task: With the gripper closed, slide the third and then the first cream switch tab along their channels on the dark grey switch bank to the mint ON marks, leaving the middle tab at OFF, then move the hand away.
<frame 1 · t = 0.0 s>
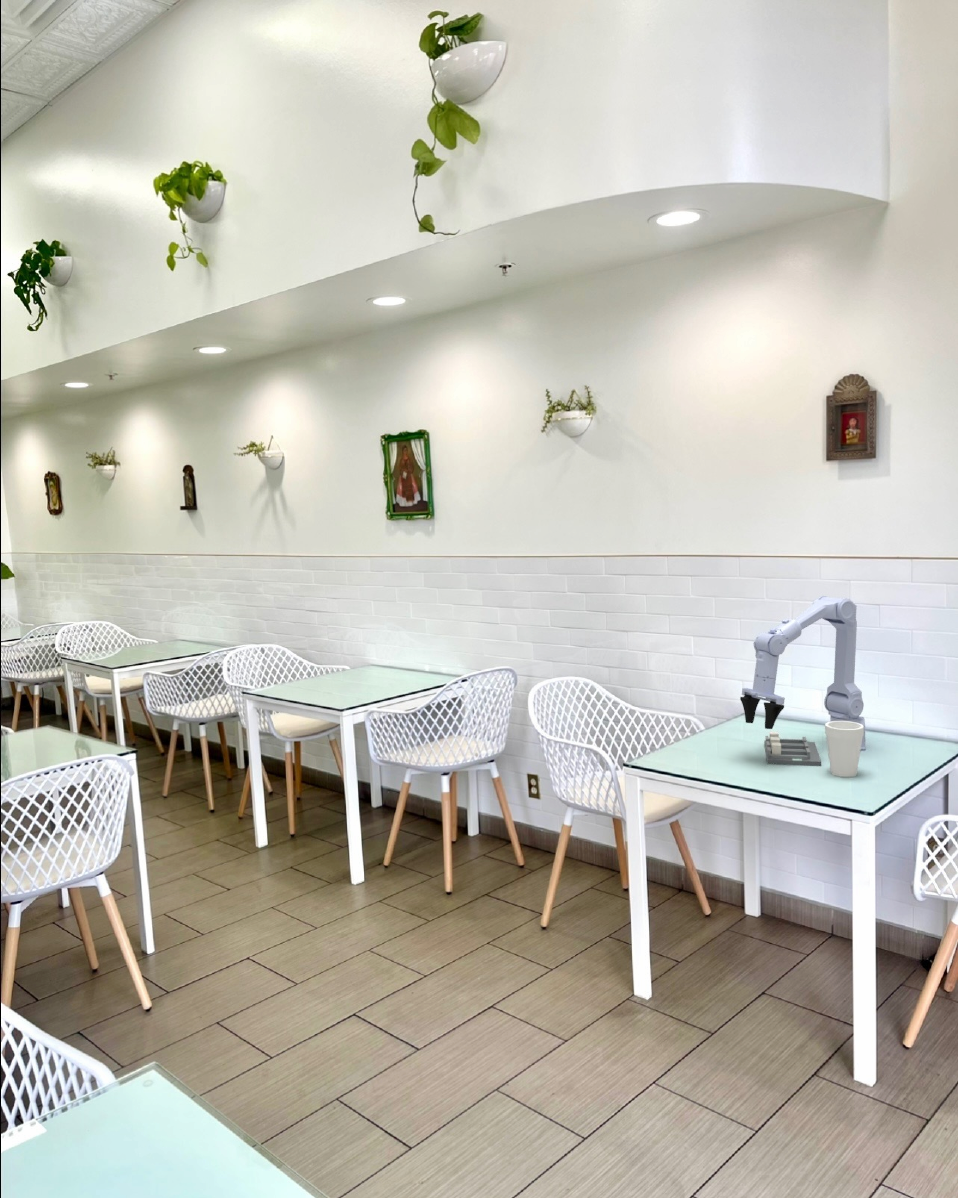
hand: (758, 725, 260), 11 cm above the table, tool pointing down, fingers open, 7 cm apart
foam cup: (843, 774, 249), on the table
switch bank: (791, 754, 267), on the table
tab 3: (776, 749, 262), point 3 cm above the table, slide at 0.0 cm
tab 1: (774, 738, 274), point 3 cm above the table, slide at 0.0 cm
tab 2: (775, 744, 268), point 3 cm above the table, slide at 0.0 cm
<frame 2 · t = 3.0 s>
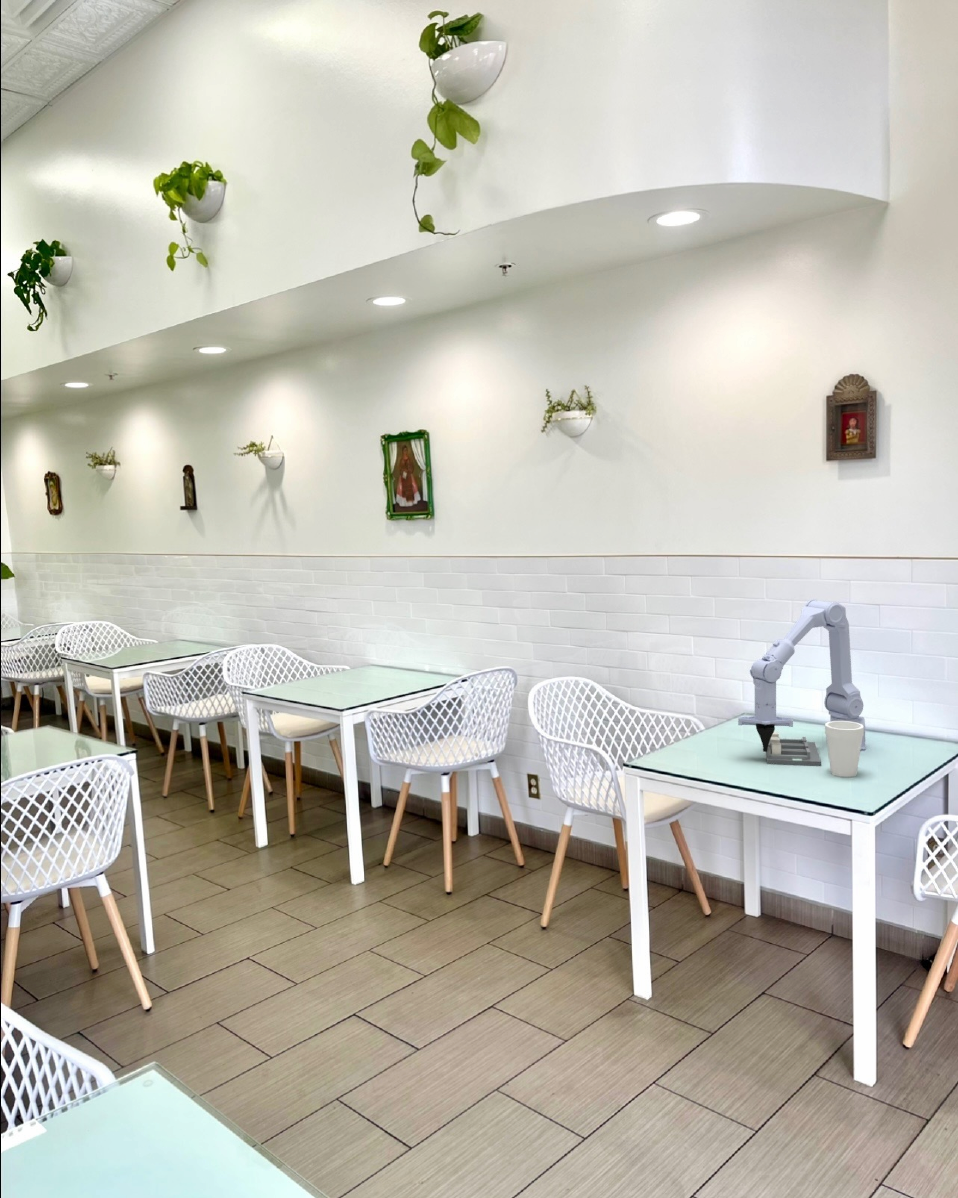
hand: (765, 750, 263), 3 cm above the table, tool pointing down, fingers closed, pressing on switch bank
nothing on the table moved.
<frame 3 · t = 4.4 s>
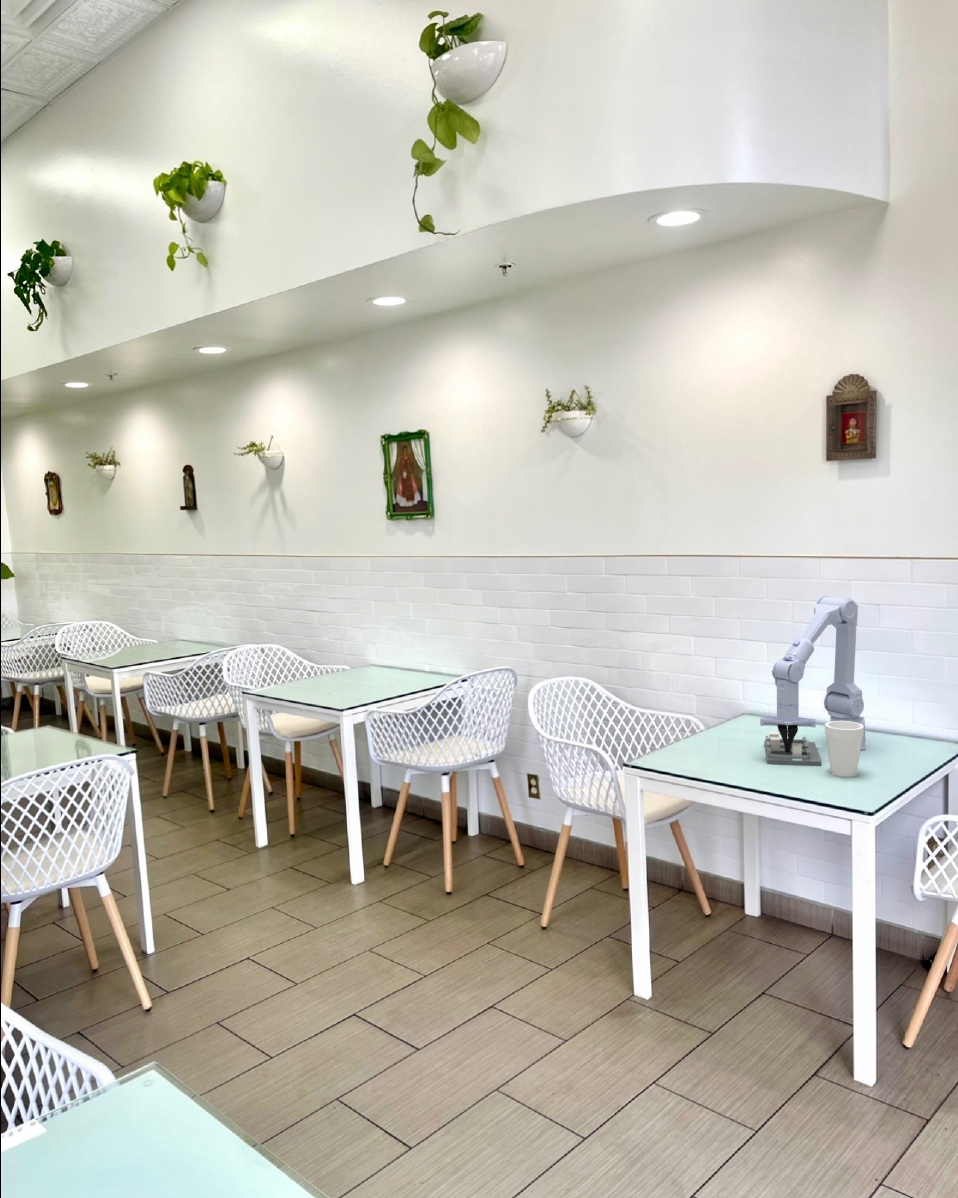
hand: (787, 751, 262), 3 cm above the table, tool pointing down, fingers closed
tab 3: (796, 750, 261), point 3 cm above the table, slide at 5.4 cm, touching gripper
everything else where it was.
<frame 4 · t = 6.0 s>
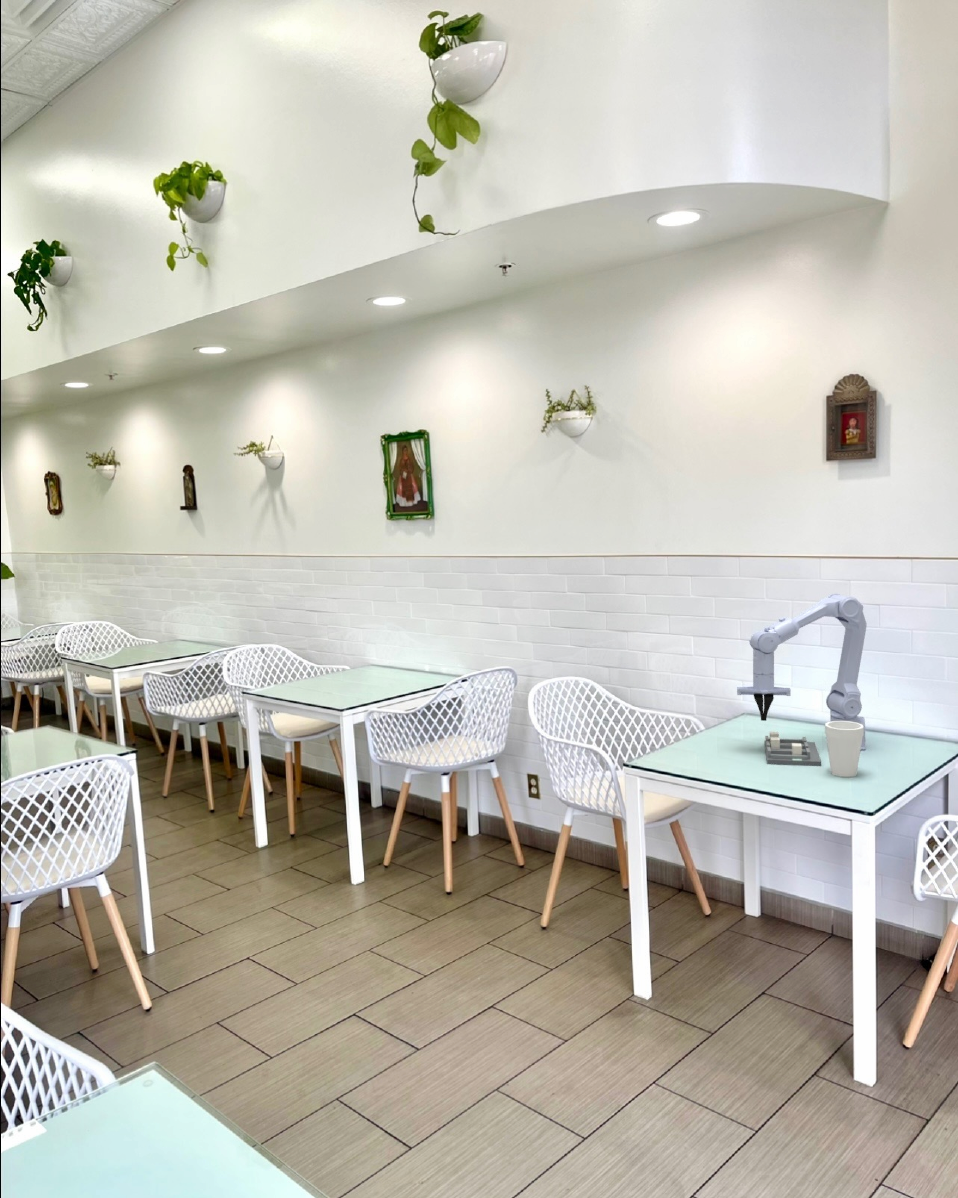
hand: (763, 719, 270), 9 cm above the table, tool pointing down, fingers closed
tab 3: (796, 750, 261), point 3 cm above the table, slide at 5.4 cm
everything else where it was.
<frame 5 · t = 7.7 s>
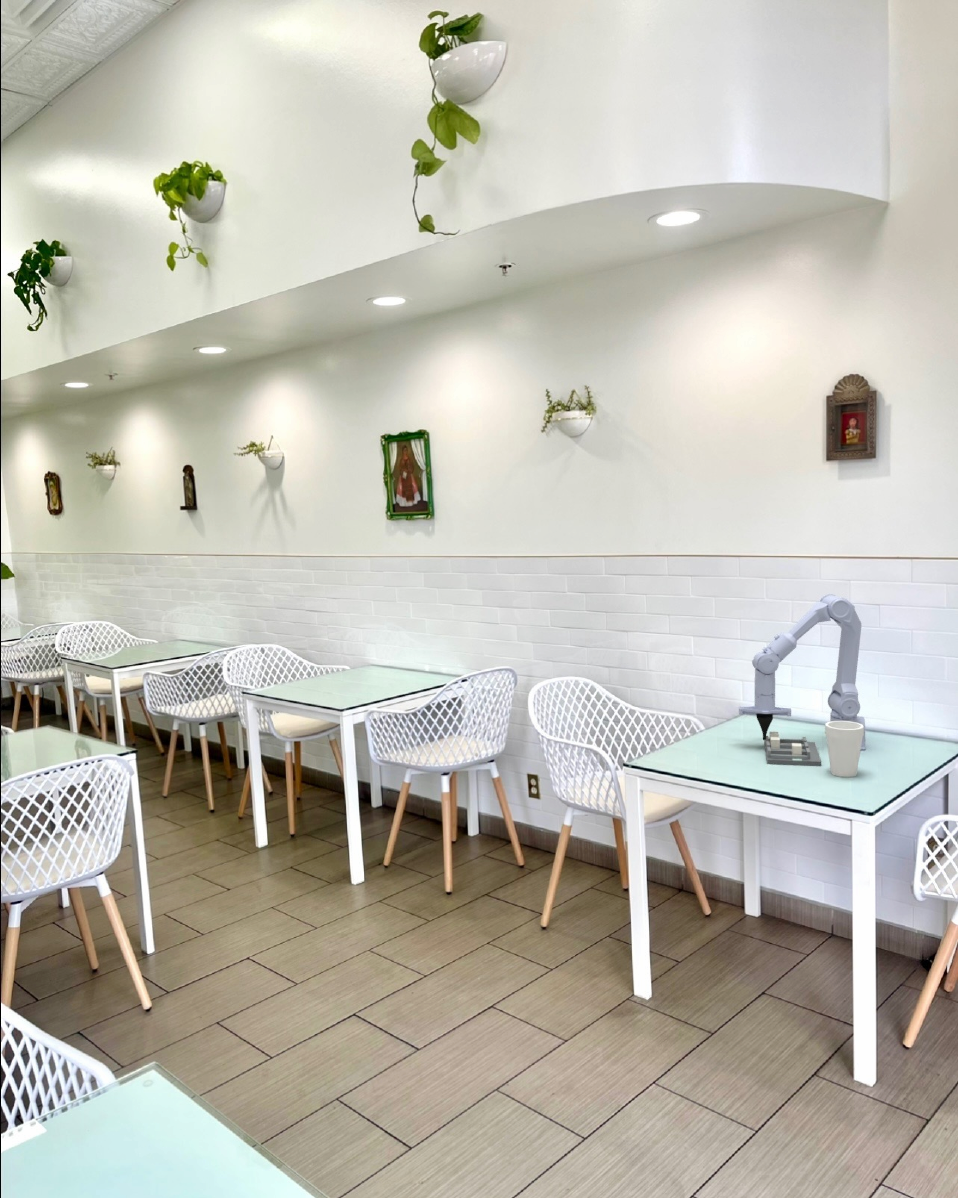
hand: (764, 739, 275), 3 cm above the table, tool pointing down, fingers closed, pressing on switch bank
nothing on the table moved.
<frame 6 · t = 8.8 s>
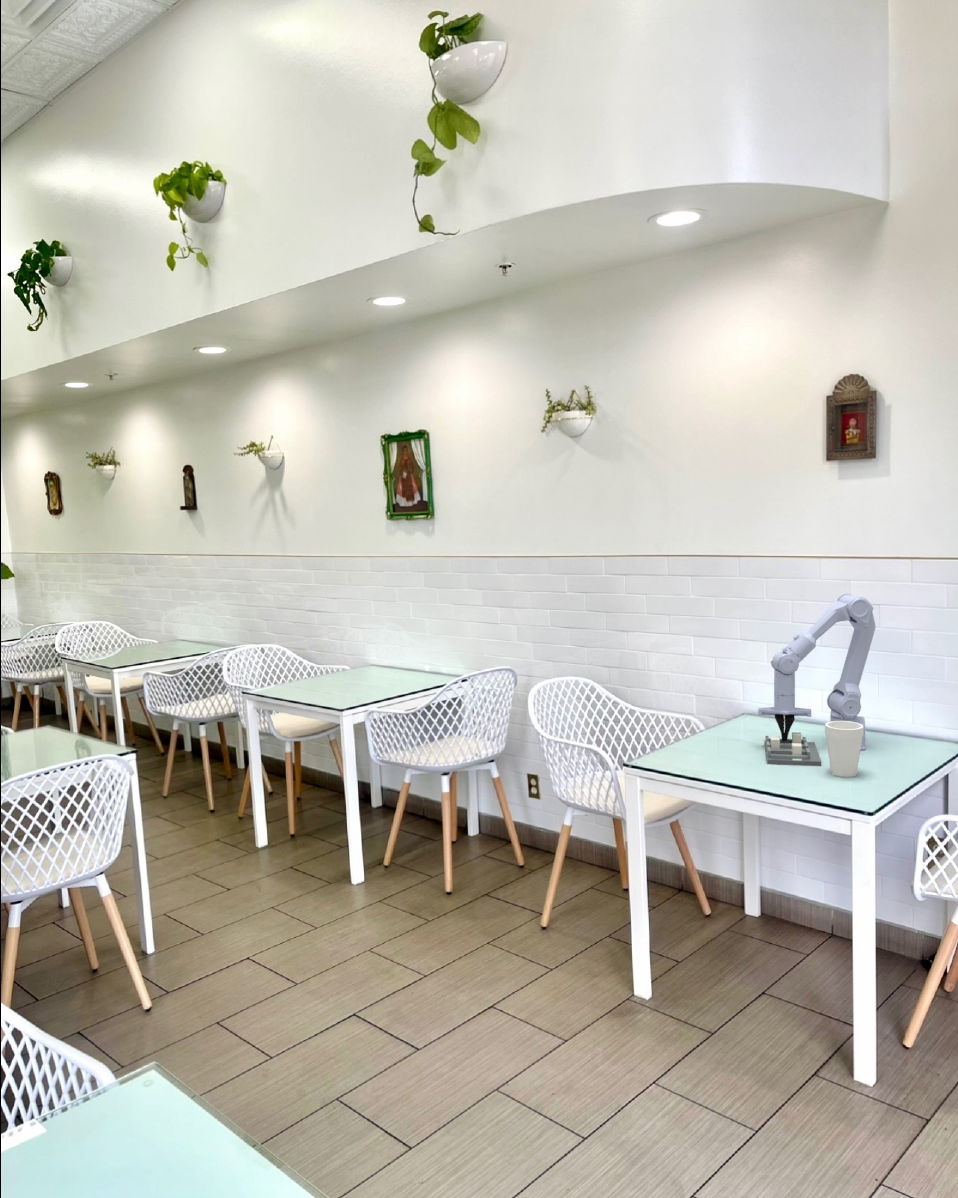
hand: (784, 740, 273), 3 cm above the table, tool pointing down, fingers closed
tab 1: (796, 739, 272), point 3 cm above the table, slide at 6.2 cm
everything else where it was.
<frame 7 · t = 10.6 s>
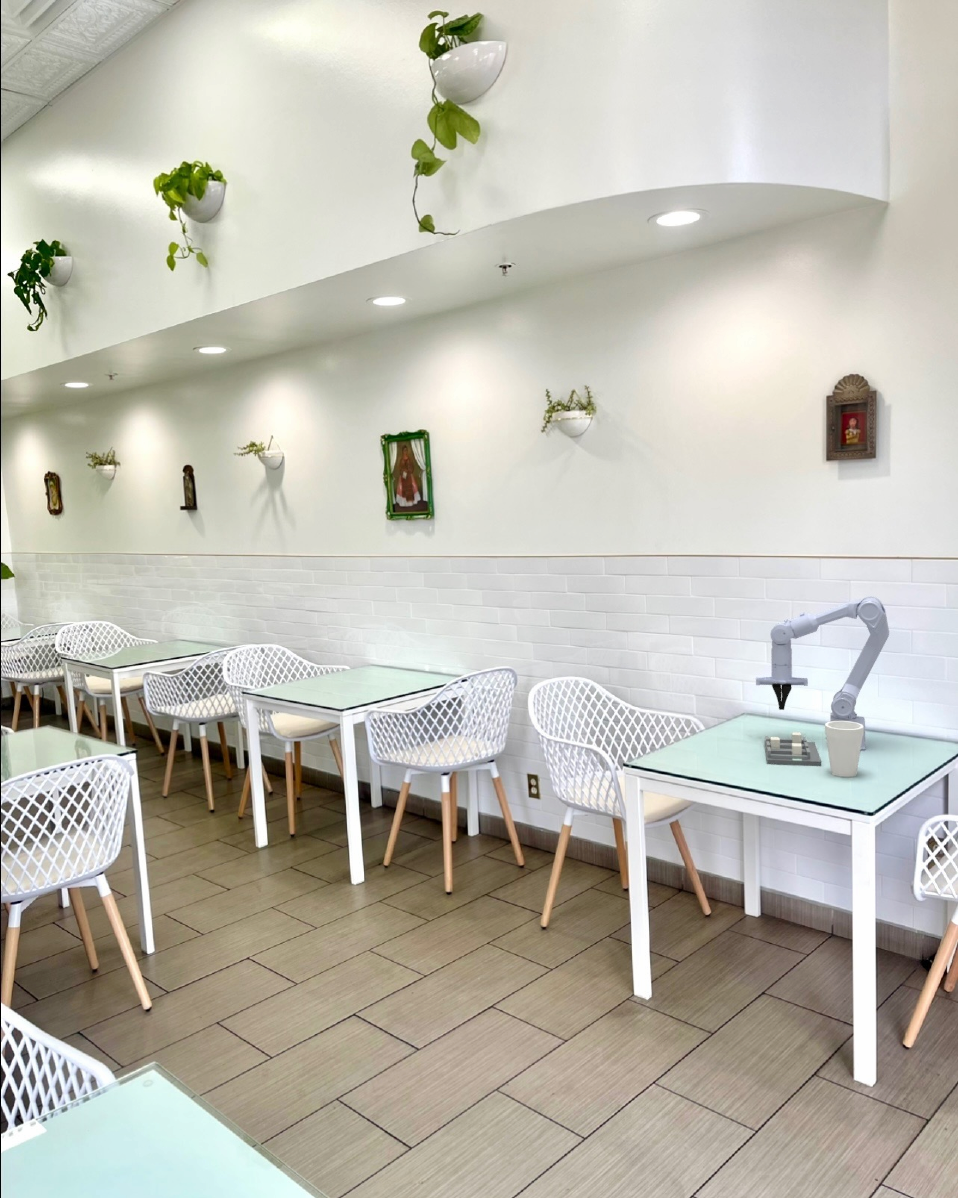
hand: (781, 709, 280), 10 cm above the table, tool pointing down, fingers closed
nothing on the table moved.
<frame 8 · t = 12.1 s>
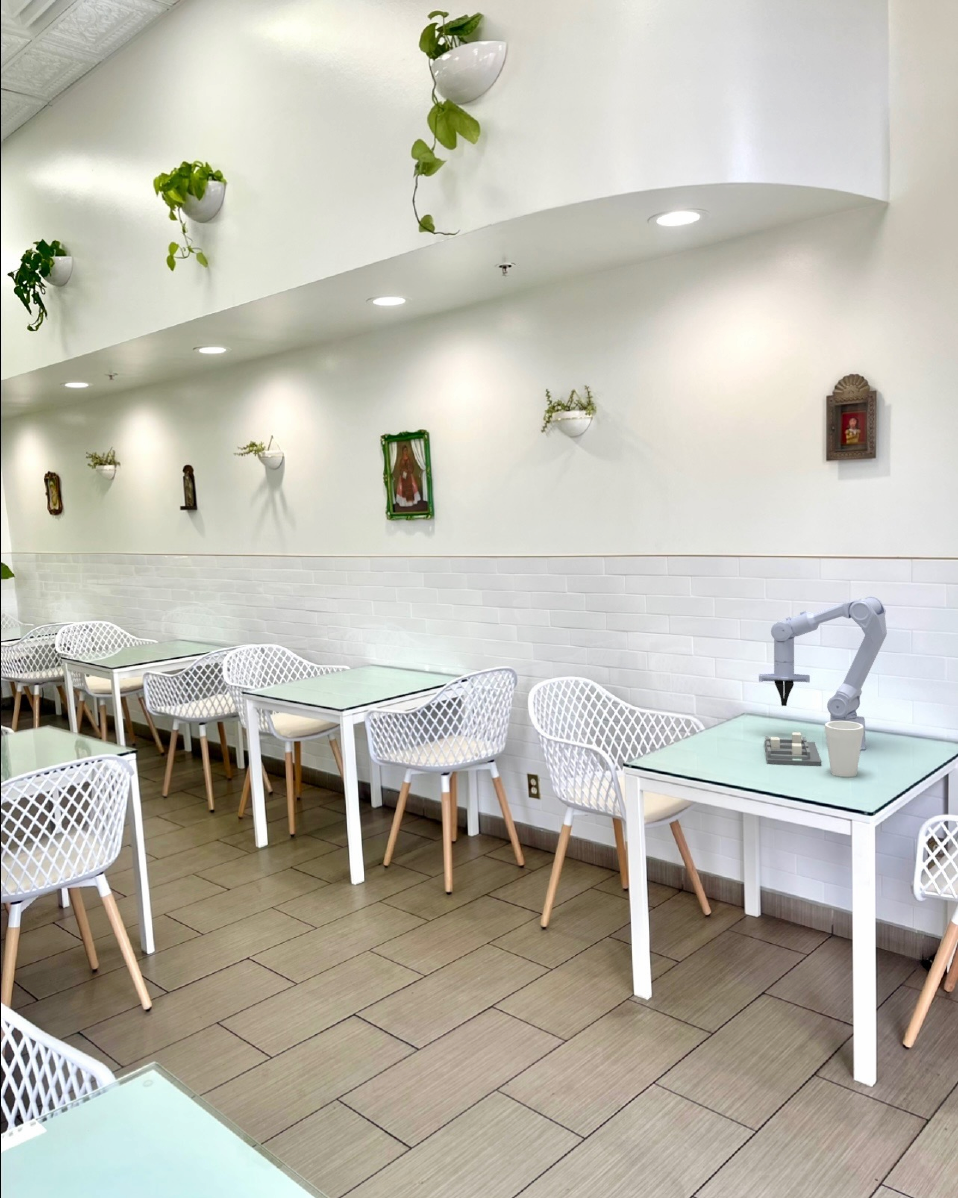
hand: (783, 705, 285), 10 cm above the table, tool pointing down, fingers closed
nothing on the table moved.
at the end: tab 3 slide at 5.4 cm; tab 1 slide at 6.2 cm; tab 2 slide at 0.0 cm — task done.
